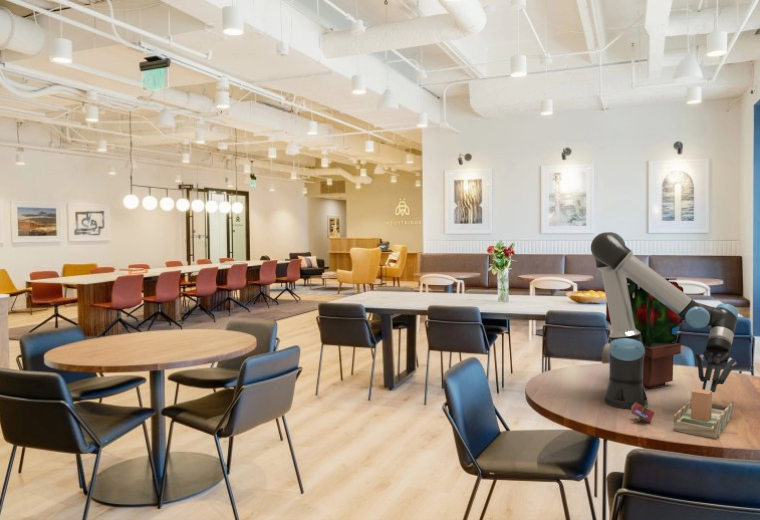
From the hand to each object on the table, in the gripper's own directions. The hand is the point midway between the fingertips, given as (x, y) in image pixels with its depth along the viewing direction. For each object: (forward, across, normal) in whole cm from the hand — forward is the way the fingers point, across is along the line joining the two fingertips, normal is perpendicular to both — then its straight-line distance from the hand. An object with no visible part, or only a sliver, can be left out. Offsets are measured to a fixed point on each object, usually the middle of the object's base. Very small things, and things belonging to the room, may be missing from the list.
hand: (706, 399), depth 199 cm
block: (+10, -1, +5) cm, 11 cm away
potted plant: (-18, +33, -29) cm, 47 cm away
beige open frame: (+8, -1, -1) cm, 9 cm away
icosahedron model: (+17, +15, +8) cm, 24 cm away
